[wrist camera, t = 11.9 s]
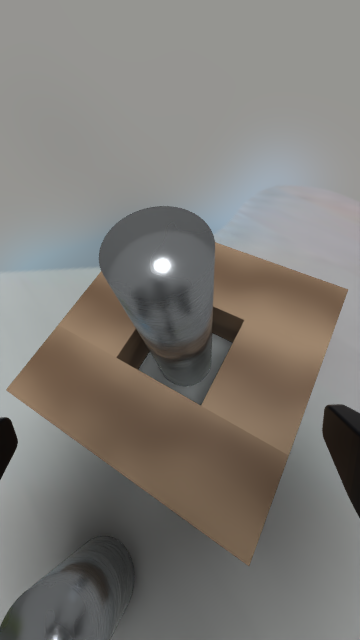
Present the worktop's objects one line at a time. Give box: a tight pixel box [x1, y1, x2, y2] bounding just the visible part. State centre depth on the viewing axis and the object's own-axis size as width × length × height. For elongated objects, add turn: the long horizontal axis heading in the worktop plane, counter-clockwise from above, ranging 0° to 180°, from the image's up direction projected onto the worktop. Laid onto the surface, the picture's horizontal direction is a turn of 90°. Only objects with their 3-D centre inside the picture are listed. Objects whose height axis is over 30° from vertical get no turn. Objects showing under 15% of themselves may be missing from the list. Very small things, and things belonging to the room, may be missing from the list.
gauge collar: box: [6, 242, 348, 566], centre depth 18 cm, size 16×16×4 cm
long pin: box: [99, 206, 215, 386], centre depth 15 cm, size 4×4×13 cm
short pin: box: [0, 536, 134, 640], centre depth 13 cm, size 4×4×6 cm
